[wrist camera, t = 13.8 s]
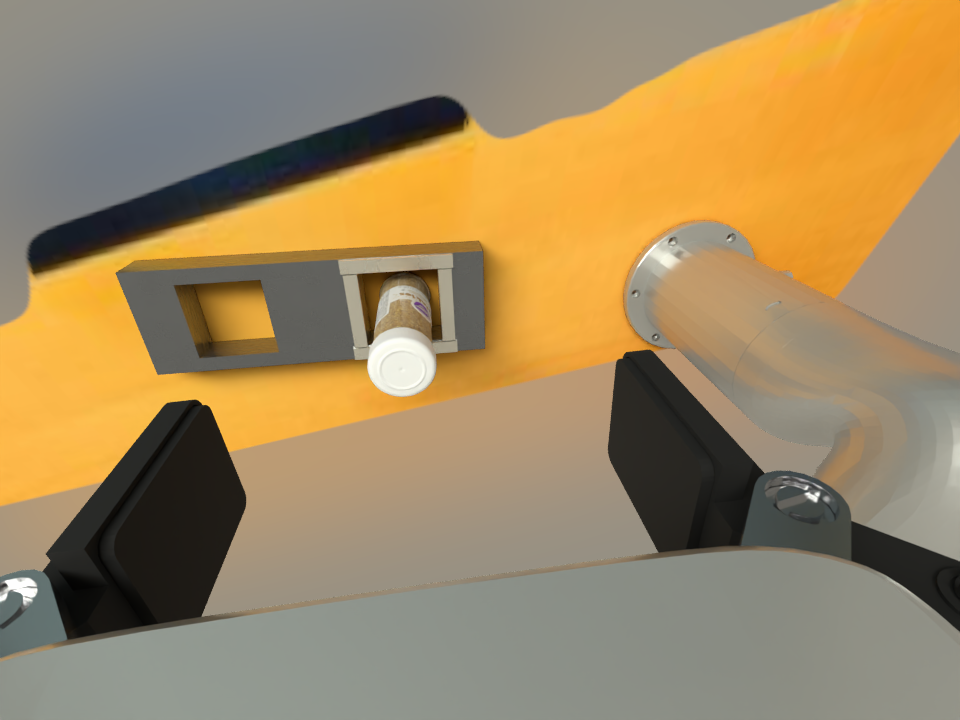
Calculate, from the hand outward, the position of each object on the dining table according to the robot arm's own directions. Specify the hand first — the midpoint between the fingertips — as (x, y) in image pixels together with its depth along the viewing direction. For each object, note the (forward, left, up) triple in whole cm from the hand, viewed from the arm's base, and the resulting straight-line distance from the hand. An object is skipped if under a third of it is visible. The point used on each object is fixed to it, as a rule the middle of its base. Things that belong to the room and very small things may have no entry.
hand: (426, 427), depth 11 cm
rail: (+9, +9, -32) cm, 34 cm away
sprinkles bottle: (+2, +9, -32) cm, 33 cm away
